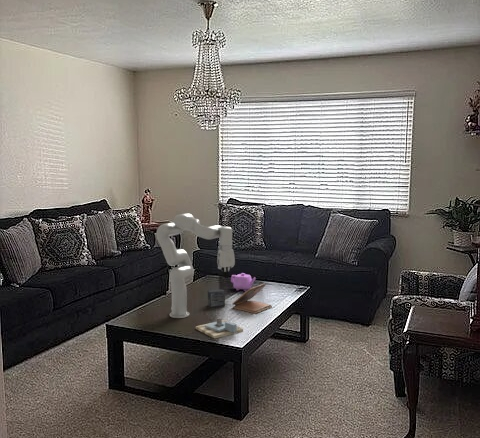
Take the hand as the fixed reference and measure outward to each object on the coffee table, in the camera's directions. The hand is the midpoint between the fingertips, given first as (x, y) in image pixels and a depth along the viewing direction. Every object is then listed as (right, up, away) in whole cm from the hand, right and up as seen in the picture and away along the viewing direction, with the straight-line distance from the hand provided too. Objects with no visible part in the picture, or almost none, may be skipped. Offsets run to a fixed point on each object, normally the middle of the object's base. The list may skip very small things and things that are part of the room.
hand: (225, 277), depth 307 cm
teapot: (+11, -19, +85) cm, 87 cm away
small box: (-8, -24, +43) cm, 50 cm away
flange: (-1, -29, -9) cm, 30 cm away
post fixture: (-4, -30, -6) cm, 31 cm away
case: (+17, -25, +38) cm, 49 cm away
